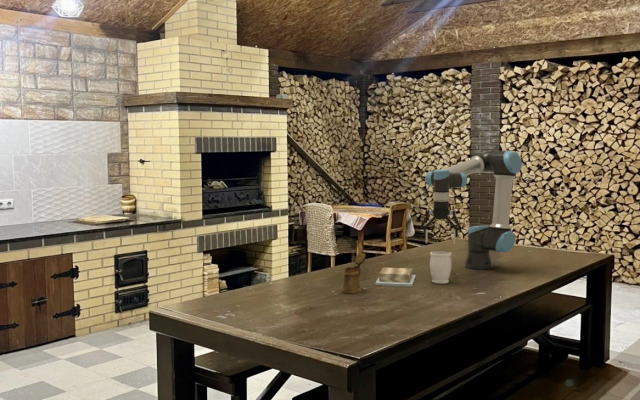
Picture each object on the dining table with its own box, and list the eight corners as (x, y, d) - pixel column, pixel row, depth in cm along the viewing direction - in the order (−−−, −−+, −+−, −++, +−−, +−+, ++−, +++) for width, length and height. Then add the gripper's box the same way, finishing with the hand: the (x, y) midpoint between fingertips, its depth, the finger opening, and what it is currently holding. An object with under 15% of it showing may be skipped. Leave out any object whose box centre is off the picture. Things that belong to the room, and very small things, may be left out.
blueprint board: (415, 277, 346) (415, 274, 346) (412, 286, 325) (412, 284, 325) (381, 275, 350) (381, 273, 350) (375, 285, 329) (375, 282, 329)
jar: (450, 280, 339) (450, 250, 338) (452, 284, 329) (452, 254, 328) (428, 279, 340) (429, 250, 339) (430, 284, 330) (430, 254, 329)
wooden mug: (371, 289, 320) (371, 252, 318) (352, 294, 310) (352, 256, 308) (357, 286, 326) (357, 250, 324) (338, 291, 316) (338, 254, 315)
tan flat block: (412, 276, 343) (412, 268, 343) (409, 282, 329) (409, 274, 328) (383, 275, 346) (383, 267, 346) (379, 281, 332) (379, 273, 331)
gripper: (467, 200, 332) (466, 242, 334) (416, 199, 337) (415, 241, 339) (467, 202, 324) (466, 245, 326) (415, 200, 330) (414, 243, 332)
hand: (440, 243), depth 333 cm, fingers open, 13 cm apart
